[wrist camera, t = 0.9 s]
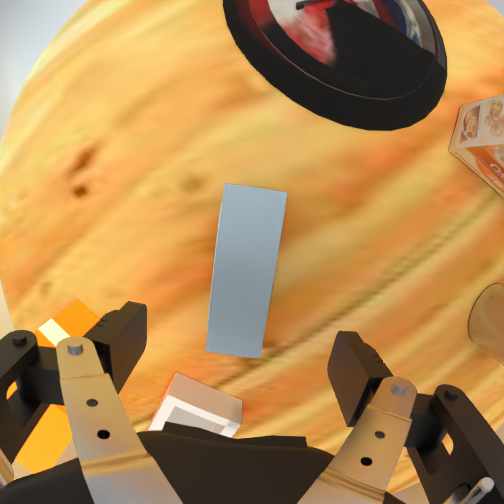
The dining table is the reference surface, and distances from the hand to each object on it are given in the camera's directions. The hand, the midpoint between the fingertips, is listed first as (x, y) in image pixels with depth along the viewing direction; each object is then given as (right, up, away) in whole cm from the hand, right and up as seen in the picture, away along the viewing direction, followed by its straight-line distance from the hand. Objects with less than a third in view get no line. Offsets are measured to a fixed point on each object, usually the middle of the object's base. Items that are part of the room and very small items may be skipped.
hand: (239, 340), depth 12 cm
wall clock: (+11, +30, +13) cm, 35 cm away
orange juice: (-19, -8, +20) cm, 29 cm away
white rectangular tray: (-9, -21, +23) cm, 33 cm away
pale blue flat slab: (0, +4, +18) cm, 18 cm away
